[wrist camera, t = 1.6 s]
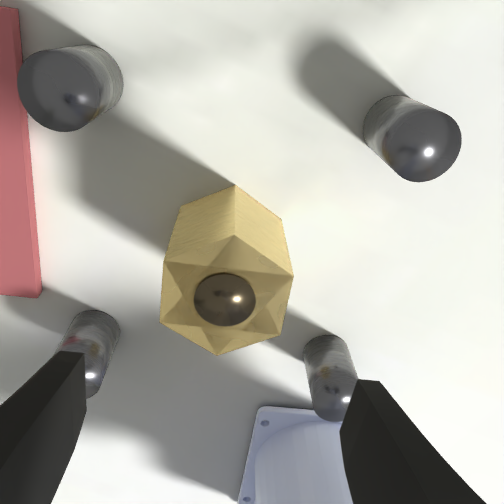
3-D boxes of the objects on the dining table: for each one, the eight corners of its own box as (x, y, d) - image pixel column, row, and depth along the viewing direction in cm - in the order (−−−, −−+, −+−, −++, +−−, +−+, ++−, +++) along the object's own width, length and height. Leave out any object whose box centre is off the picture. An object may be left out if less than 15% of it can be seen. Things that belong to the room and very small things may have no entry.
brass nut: (267, 291, 21) (274, 363, 17) (174, 280, 21) (157, 351, 16) (286, 191, 19) (301, 244, 14) (183, 177, 19) (165, 227, 14)
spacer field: (341, 371, 24) (357, 424, 21) (72, 345, 22) (46, 397, 19) (430, 99, 17) (472, 116, 14) (57, 39, 16) (13, 44, 13)
